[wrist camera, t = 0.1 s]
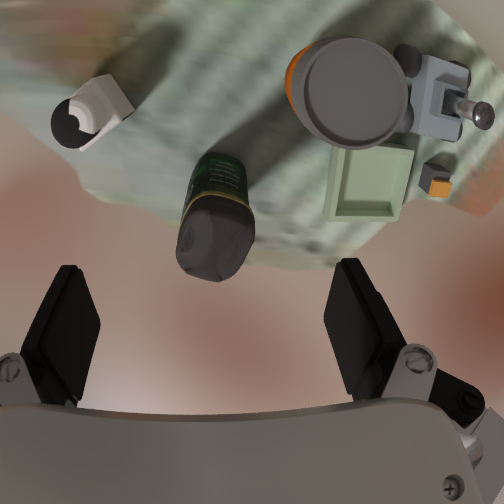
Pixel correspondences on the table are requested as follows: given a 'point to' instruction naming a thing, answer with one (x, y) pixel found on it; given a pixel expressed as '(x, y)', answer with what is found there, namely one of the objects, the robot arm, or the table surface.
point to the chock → (435, 180)
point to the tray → (367, 183)
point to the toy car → (432, 93)
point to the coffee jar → (215, 219)
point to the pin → (470, 110)
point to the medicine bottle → (90, 113)
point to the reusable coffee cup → (347, 91)
